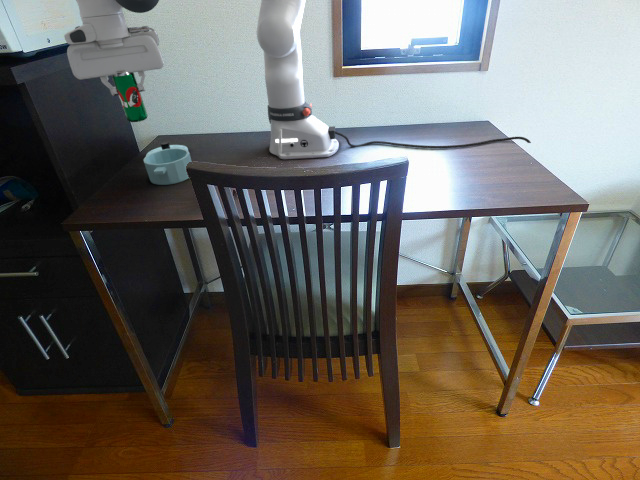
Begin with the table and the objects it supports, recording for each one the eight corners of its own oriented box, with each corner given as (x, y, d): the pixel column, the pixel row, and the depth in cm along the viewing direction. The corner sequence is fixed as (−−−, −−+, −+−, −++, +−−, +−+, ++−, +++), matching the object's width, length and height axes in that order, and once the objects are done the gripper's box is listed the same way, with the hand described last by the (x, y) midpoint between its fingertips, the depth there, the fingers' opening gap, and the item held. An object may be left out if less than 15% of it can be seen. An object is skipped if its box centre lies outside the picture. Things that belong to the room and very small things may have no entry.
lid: (192, 146, 132) (189, 134, 130) (183, 161, 121) (179, 148, 119) (154, 149, 132) (150, 137, 130) (141, 164, 121) (137, 152, 119)
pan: (199, 162, 120) (195, 143, 117) (186, 187, 105) (180, 166, 102) (159, 165, 120) (154, 146, 117) (141, 190, 105) (133, 170, 102)
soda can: (151, 116, 101) (136, 67, 94) (142, 122, 97) (125, 71, 90) (134, 117, 102) (117, 68, 95) (124, 123, 97) (105, 72, 91)
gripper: (155, 24, 93) (172, 84, 100) (62, 34, 88) (87, 96, 96) (154, 25, 88) (172, 89, 95) (55, 36, 83) (82, 102, 91)
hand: (129, 93), depth 95 cm, fingers closed on soda can, 5 cm apart
